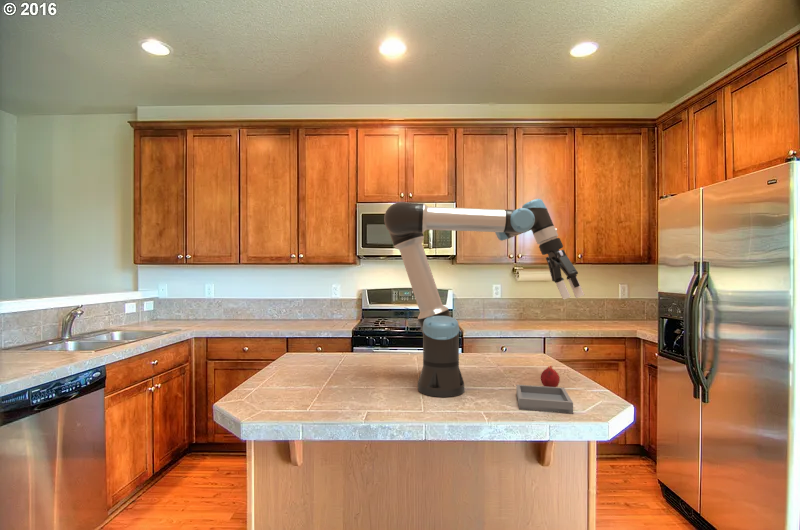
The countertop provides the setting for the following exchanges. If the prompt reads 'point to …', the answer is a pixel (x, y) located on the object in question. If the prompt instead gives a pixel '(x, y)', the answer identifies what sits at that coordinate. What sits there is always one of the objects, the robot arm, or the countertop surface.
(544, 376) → the onion
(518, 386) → the bin
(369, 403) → the countertop surface
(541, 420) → the countertop surface
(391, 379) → the countertop surface
